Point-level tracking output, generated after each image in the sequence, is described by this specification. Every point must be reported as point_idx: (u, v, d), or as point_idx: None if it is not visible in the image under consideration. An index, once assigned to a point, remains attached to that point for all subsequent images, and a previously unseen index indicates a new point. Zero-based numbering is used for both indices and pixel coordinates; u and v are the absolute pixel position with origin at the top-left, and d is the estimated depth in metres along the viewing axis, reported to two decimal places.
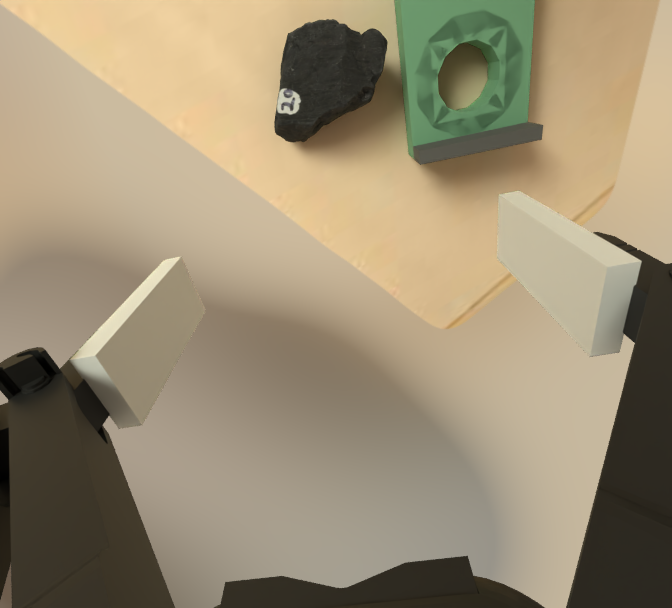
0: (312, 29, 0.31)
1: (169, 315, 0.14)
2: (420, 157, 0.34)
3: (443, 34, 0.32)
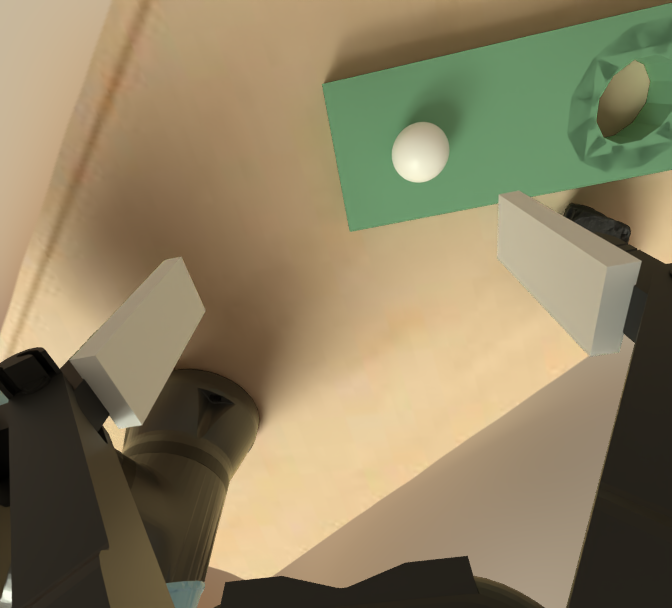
0: None
1: (169, 315, 0.14)
2: None
3: (580, 143, 0.28)
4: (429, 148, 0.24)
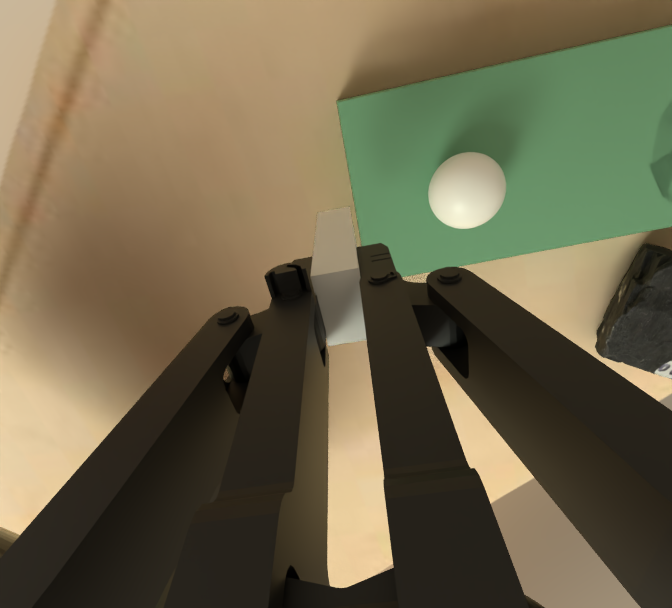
0: (615, 338, 0.27)
1: None
2: None
3: (665, 176, 0.22)
4: (483, 188, 0.18)
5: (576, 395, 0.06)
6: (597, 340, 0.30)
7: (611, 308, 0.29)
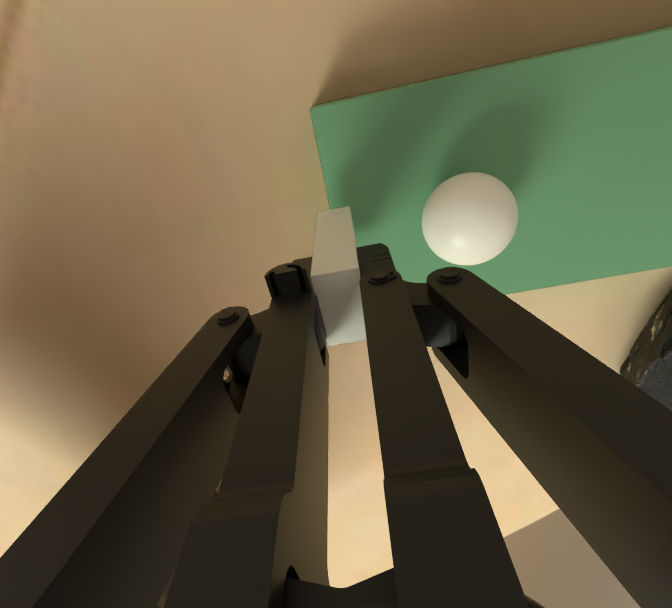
0: (648, 383, 0.23)
1: None
2: None
3: None
4: (490, 220, 0.14)
5: (576, 395, 0.06)
6: None
7: (641, 345, 0.25)
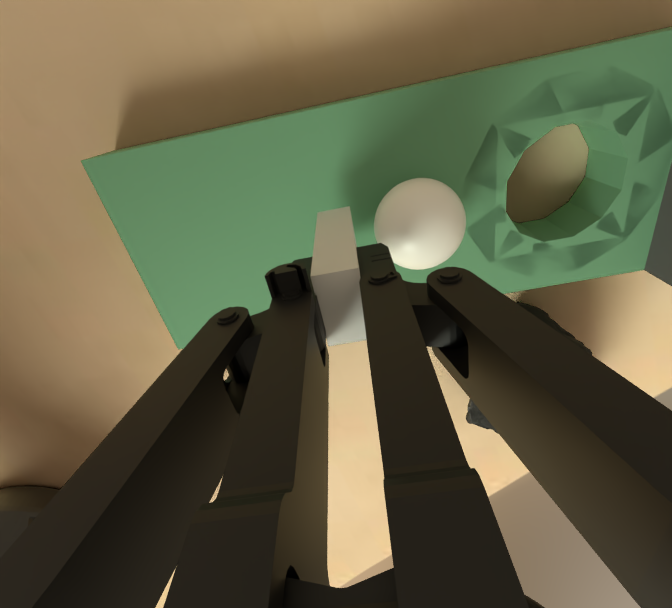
0: None
1: None
2: None
3: (486, 240, 0.19)
4: (375, 218, 0.17)
5: (576, 395, 0.06)
6: None
7: None
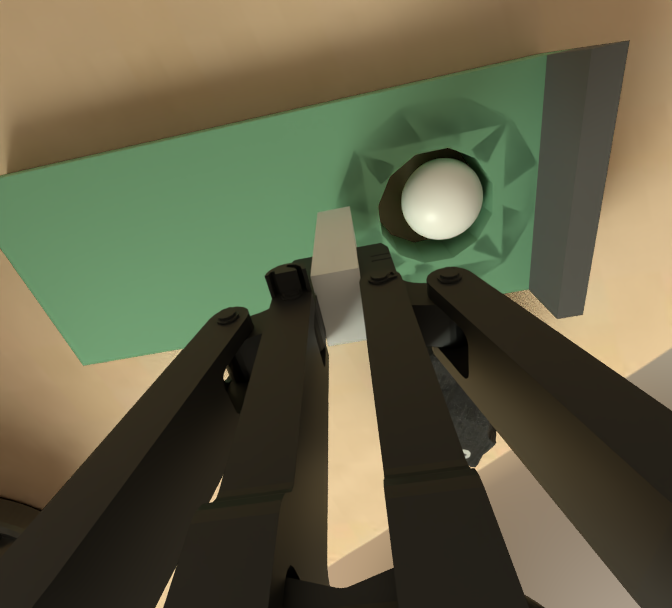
0: None
1: None
2: (569, 315, 0.18)
3: None
4: None
5: (576, 395, 0.06)
6: None
7: None
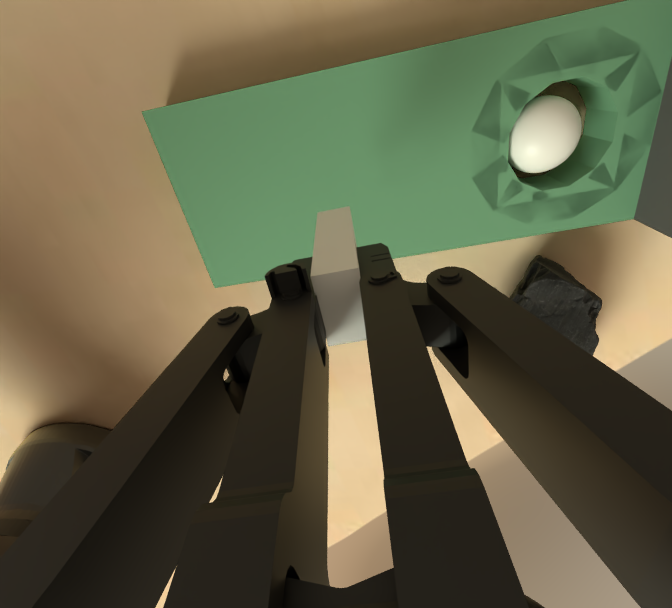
0: None
1: None
2: None
3: (490, 188, 0.22)
4: None
5: (576, 395, 0.06)
6: None
7: None
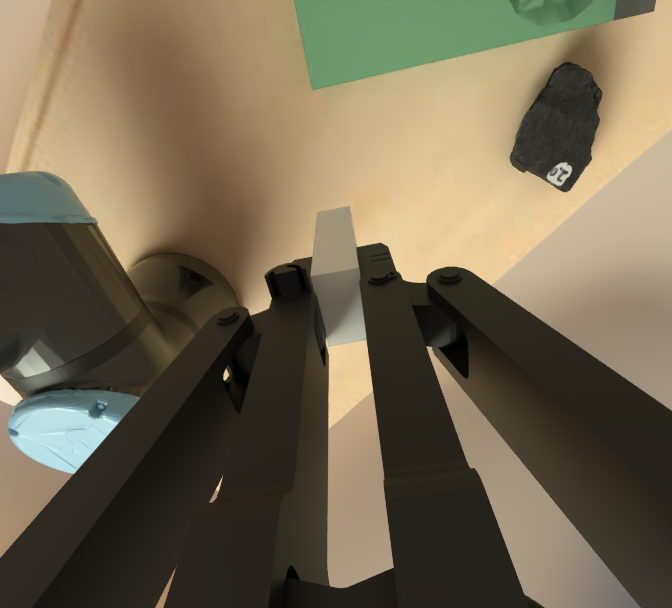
0: (522, 134, 0.36)
1: None
2: (645, 11, 0.29)
3: None
4: None
5: (576, 395, 0.06)
6: None
7: None
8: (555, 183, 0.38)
